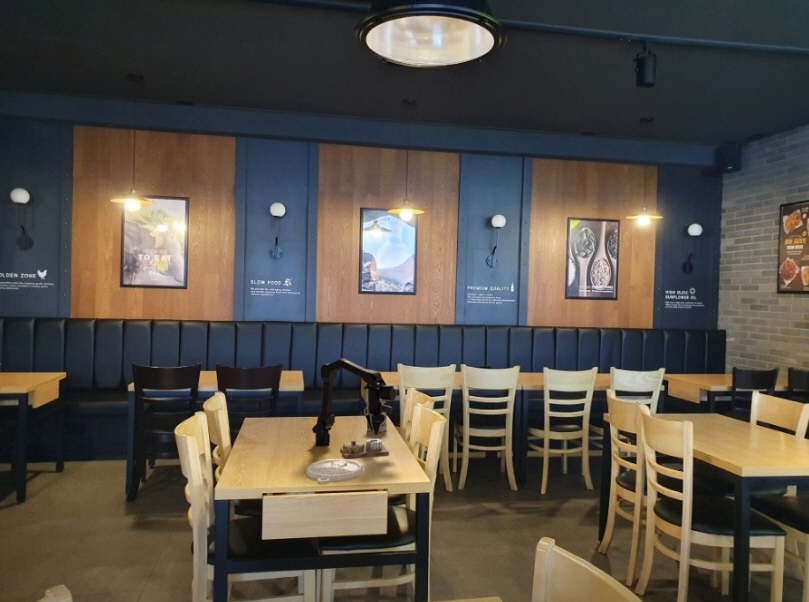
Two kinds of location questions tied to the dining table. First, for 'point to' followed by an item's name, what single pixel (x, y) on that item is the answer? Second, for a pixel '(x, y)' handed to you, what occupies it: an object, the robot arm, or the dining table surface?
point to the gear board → (360, 450)
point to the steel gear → (374, 444)
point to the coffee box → (383, 425)
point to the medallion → (334, 470)
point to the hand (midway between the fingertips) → (374, 432)
